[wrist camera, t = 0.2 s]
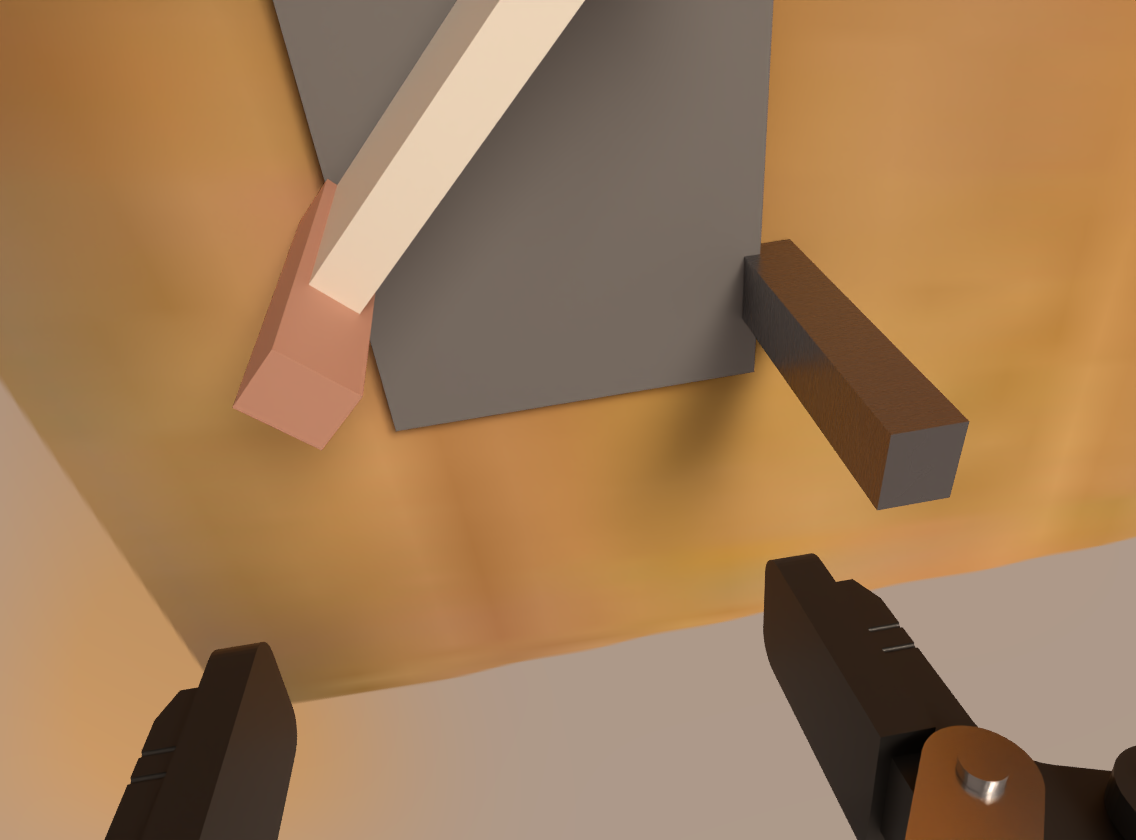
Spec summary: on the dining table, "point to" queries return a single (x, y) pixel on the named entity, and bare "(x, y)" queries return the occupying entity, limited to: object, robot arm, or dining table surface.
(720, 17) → the mat
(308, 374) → the gate
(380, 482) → the dining table surface
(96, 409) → the dining table surface
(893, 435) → the gate posts
